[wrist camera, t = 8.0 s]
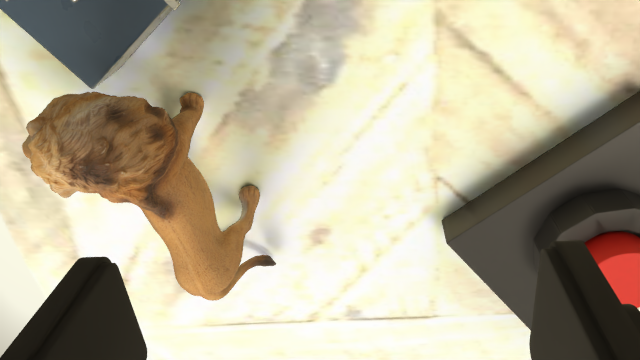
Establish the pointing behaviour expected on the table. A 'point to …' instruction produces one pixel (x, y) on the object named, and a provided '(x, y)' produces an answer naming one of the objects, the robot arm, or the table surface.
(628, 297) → the red button
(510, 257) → the button box
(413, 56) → the table surface
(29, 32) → the panel
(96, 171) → the lion figurine
